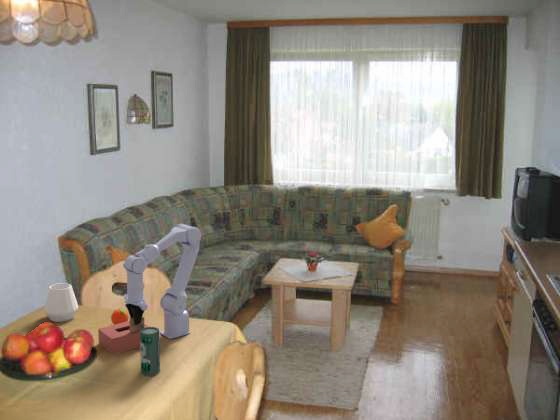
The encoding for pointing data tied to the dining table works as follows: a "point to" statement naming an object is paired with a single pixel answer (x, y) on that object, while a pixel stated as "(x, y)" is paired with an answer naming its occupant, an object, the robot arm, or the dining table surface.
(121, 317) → the clementine
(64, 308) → the white tapered hollow vessel
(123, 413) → the dining table surface
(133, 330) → the token
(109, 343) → the coin box
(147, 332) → the can
